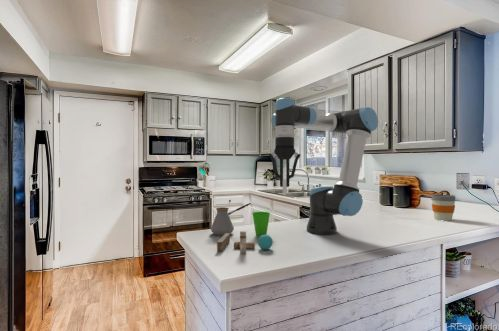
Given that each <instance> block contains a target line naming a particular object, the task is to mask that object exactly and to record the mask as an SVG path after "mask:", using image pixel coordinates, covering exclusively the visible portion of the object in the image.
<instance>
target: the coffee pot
mask: <svg viewBox="0 0 499 331" xmlns="http://www.w3.org/2000/svg"><path fill="white" fill-rule="evenodd" d="M249 206H253V204H252V203H251V202H249V203H246V204H244V205H241V206H240V207H238V208H236V209H234V210H232V211H230V212H228V211H229V210H230V208H229V207H217V208H215V210H216V215H215V217H214V220H213V223H212V224H211V227H210V230H211V232H212V234H214V236H216V235H224V234H225V233H230V234H232V233H233V232H234V231H235V230H234V225H233V222H232V220H231V218H230V215H232V214H234V213H235V212H238V211H241V210H242V209H244V208H246V207H249Z"/></svg>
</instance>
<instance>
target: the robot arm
mask: <svg viewBox="0 0 499 331" xmlns="http://www.w3.org/2000/svg"><path fill="white" fill-rule="evenodd" d="M274 106H275V107H274V108H275V109H274V113H273V114H272V115H271V118H270V119H271V120H270V122H271V126H272V127H273V128H275V129H274V130H275V133H274V134H275V135H274V136H275V143H274V144H275V147H274V150H273V152H272V153H270V154H269V155H268V157H269V159H271V163H272V168H273V172H274V174H275V177H276V178H278V179H279V187H281V188H282V196H287V193H288V191H287V188H289V187H290V179H292V178H294V177H295V173H296V170H297V169H296V168H297V164H298V160H299V159H300V157H301V154H300V153H298V152H297V151H296V149H295V138H294V136H295V129H308V130H309V129H312V130H325V131H326V132H328V133H338V134H339V133H340V134H346V135H347V141H346V143H345V144H346V145H345V150H344V154H343V158H342V163H341V167H340V172H339V177H338V181H337V182H336V183H334V185H333V186H319V187H318V186H317V187H312V188H310V190H309V219H308V221H307V224H306V232H308V233H311V234H315V235H324V236H325V235H335V234H337V231H338V229H337V225H336V222H335V218H334V214H335V215H340V216H345V217H346V216H347V217H353V216H356V215H357V214H358V213H360V211H361V209H362V207H363V203H364V201H363V195H362V194H361V193H360V188H359V187H358V181H359V177H360V171H361V166H362V161H363V156H364V153H365V146H366V142H367V139H369V138H370V137H371V134H372V132H373V131H375V130H377V129H378V127H379V117H378V114H377V113H376V111H375V109H374V108H372V107H369V106H367V107H360V108H355V109H349V110H345V111H340V112H335V113H334V112H333V113H332V112H329V113H327V114H320V113H317V111H316V109H315V108H313V107H310V106H303V105H296V104H295V101H294V98H292V97H291V98H290V97H280V98H278V99H276V101H275V105H274ZM276 157H277V158H278V160H279V171H278V167H277V162H276V159H275V158H276ZM293 157H294V161H293V165H292V170H291V173H290V159H292V158H293ZM284 160H286V162H285V163H286V165H285V166H286V168H285V169H286V170H285V172H286V174H285V175H286V177H285V178H284Z"/></svg>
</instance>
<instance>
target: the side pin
mask: <svg viewBox="0 0 499 331" xmlns="http://www.w3.org/2000/svg"><path fill="white" fill-rule="evenodd" d="M239 242H240V248H239V254H240V255H246V254H247V248H246V242H247V231H246V230H241V231H239Z"/></svg>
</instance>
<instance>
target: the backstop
mask: <svg viewBox="0 0 499 331" xmlns="http://www.w3.org/2000/svg"><path fill="white" fill-rule="evenodd" d="M229 242H230V243H231V233H225V234H224V235H223V236H220V238H219V239H218V240H217V241H216V253H224V250H225V249H226V248H227V247H228V245H230V243H229ZM226 246H227V247H226Z"/></svg>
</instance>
